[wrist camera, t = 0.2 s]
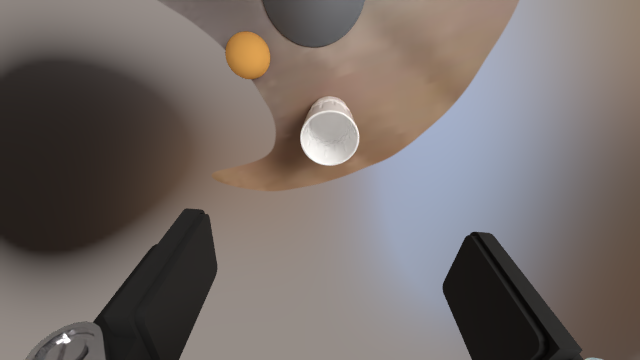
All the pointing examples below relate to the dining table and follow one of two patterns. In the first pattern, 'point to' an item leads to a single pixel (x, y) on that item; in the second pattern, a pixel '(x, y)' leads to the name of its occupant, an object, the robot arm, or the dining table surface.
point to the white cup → (329, 132)
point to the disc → (313, 19)
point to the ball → (247, 55)
